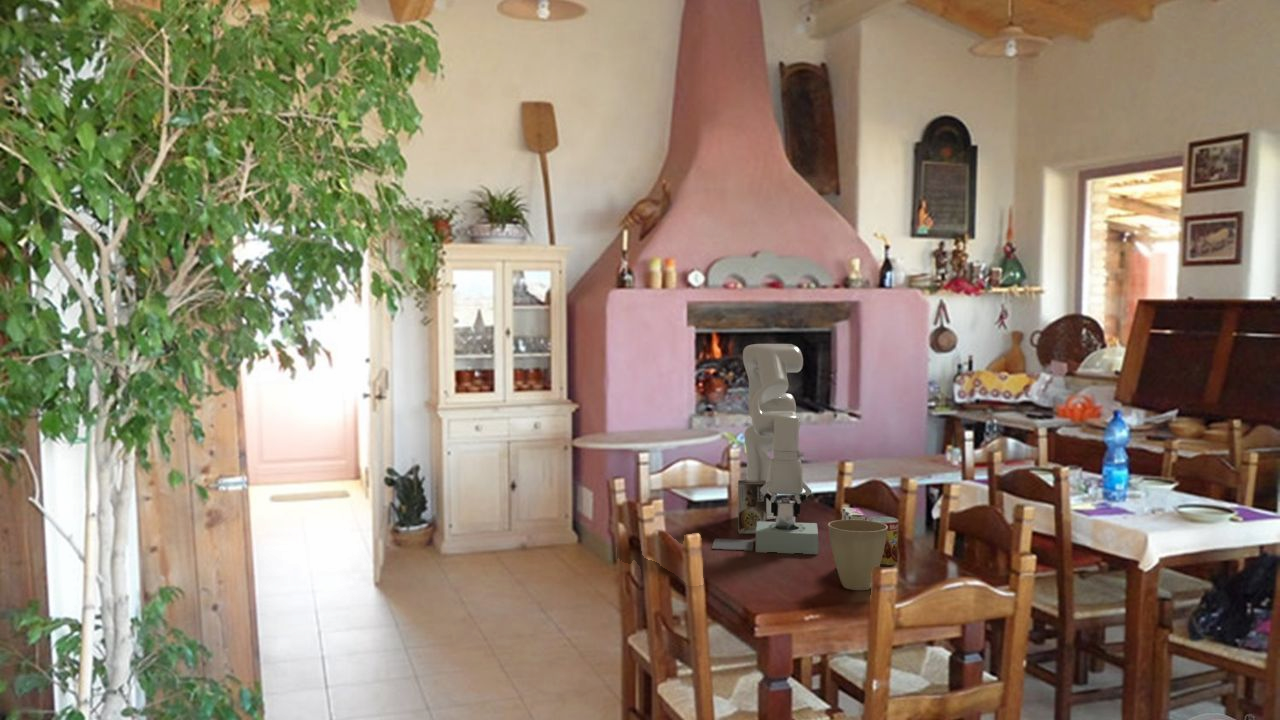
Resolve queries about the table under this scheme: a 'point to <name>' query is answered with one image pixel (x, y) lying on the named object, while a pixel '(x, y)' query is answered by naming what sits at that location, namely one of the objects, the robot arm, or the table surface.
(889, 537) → the canned food
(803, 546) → the block
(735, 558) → the table surface
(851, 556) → the plant pot
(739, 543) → the mat
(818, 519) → the table surface
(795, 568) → the table surface
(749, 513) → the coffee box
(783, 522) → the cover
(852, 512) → the candy bar box
